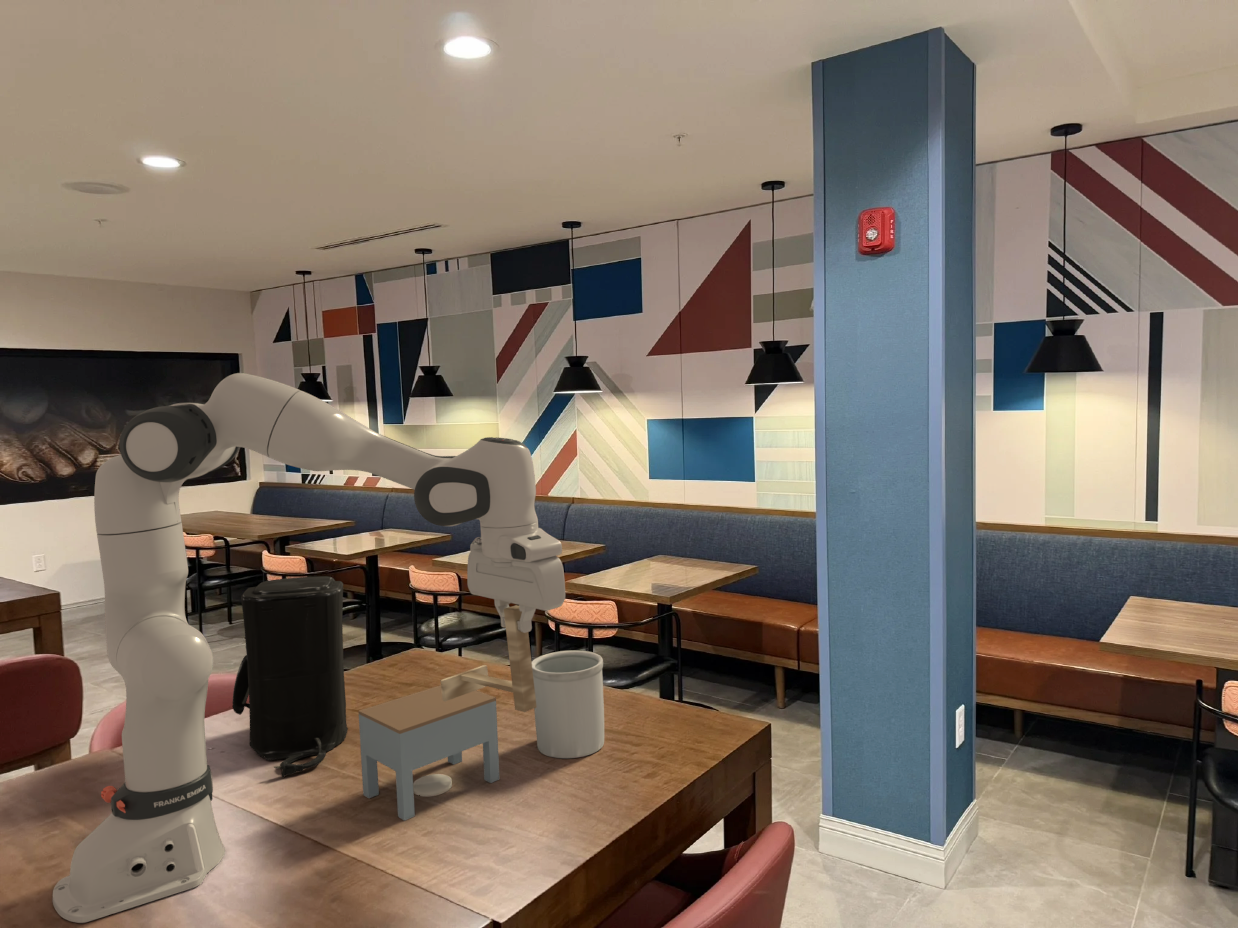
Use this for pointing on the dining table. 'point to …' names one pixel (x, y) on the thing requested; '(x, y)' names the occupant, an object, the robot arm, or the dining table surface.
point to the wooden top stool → (425, 738)
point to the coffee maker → (293, 669)
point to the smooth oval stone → (432, 785)
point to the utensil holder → (569, 703)
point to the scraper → (479, 678)
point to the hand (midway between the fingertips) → (516, 629)
